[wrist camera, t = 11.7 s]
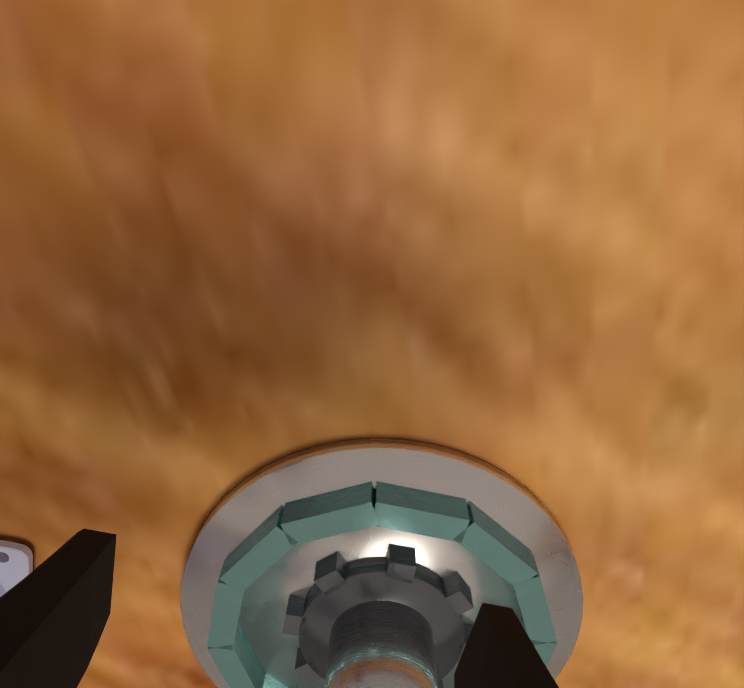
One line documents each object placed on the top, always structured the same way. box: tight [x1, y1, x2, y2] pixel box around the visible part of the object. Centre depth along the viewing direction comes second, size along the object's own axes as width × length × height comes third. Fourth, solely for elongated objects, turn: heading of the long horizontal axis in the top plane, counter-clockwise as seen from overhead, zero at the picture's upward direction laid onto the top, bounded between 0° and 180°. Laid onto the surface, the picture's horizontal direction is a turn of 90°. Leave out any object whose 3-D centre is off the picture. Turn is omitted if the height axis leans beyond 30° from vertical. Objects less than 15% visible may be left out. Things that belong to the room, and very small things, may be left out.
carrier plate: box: [180, 438, 583, 688], centre depth 25 cm, size 16×16×2 cm
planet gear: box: [282, 544, 474, 688], centre depth 23 cm, size 8×8×6 cm
